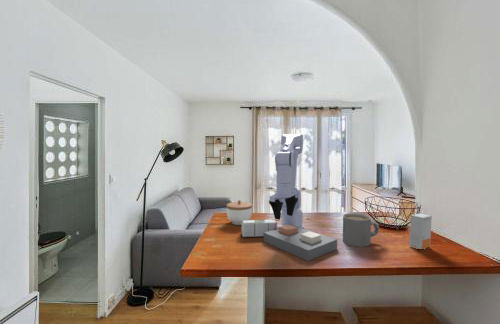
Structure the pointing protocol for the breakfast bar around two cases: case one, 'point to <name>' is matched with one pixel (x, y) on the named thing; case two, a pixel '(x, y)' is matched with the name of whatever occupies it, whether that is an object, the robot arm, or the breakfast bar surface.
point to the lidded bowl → (239, 211)
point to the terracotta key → (288, 229)
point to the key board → (300, 243)
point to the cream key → (310, 237)
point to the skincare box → (420, 231)
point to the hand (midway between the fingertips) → (283, 217)
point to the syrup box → (257, 227)
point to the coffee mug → (358, 229)
